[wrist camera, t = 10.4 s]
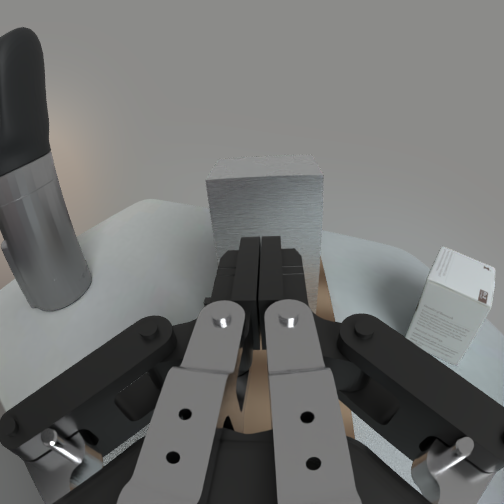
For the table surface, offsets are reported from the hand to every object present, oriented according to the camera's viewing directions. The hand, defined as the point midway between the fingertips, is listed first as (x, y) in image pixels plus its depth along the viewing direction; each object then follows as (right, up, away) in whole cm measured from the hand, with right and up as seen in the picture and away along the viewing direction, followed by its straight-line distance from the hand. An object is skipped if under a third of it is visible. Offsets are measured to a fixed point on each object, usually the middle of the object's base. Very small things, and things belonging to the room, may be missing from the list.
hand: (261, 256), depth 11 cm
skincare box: (+17, -8, +11) cm, 22 cm away
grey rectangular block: (0, -5, +14) cm, 15 cm away
